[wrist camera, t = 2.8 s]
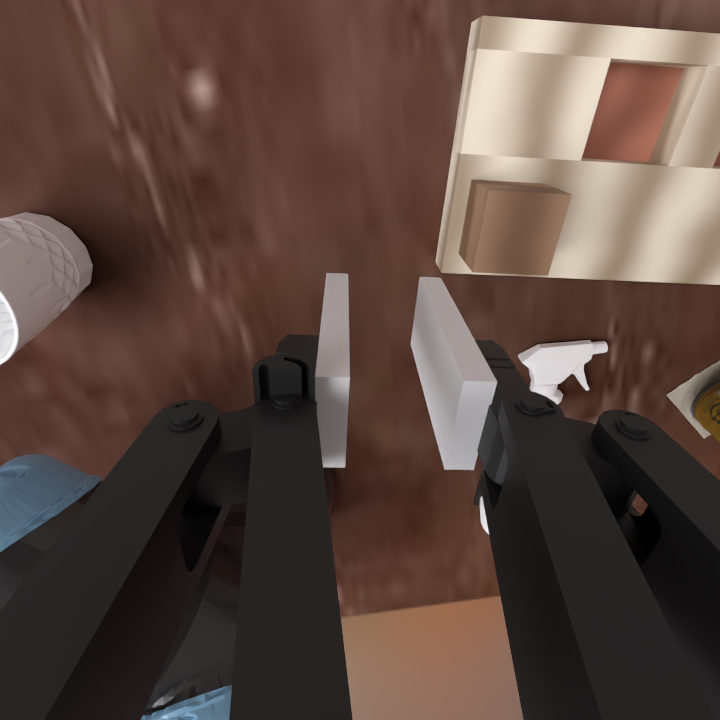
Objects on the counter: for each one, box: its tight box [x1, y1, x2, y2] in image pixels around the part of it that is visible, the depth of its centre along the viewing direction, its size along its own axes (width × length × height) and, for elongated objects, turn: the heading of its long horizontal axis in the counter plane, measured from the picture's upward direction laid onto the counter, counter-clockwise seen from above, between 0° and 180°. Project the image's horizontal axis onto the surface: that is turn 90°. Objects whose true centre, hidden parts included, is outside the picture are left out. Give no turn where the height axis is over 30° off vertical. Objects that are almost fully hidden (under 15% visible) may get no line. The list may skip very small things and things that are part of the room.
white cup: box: [0, 212, 93, 365], centre depth 28 cm, size 8×8×10 cm
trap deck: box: [436, 16, 720, 285], centre depth 30 cm, size 30×15×2 cm, turn 87°
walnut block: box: [458, 180, 572, 276], centre depth 28 cm, size 5×5×4 cm
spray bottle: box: [480, 340, 608, 534], centre depth 43 cm, size 3×11×24 cm
